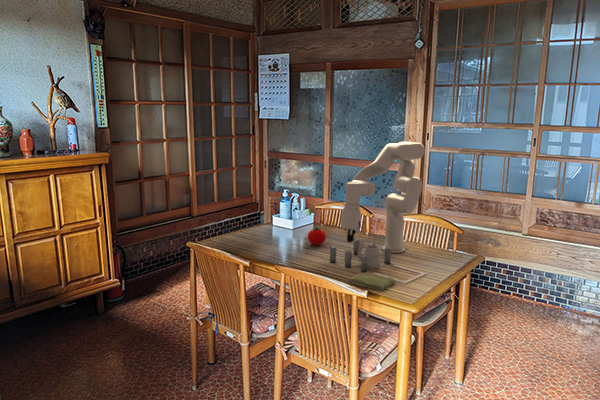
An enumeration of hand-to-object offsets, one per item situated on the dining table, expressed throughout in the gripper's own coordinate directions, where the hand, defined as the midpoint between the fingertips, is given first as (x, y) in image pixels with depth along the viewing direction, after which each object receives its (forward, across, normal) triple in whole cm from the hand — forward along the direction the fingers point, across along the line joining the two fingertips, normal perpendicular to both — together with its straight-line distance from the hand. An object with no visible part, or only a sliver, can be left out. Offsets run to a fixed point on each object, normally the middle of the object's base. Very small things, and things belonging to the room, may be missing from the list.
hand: (350, 241), depth 236 cm
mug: (+10, +11, +1) cm, 15 cm away
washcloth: (+11, +28, -18) cm, 34 cm away
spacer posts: (+10, +6, +1) cm, 12 cm away
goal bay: (+10, +29, +1) cm, 31 cm away
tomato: (+10, -31, +8) cm, 33 cm away
